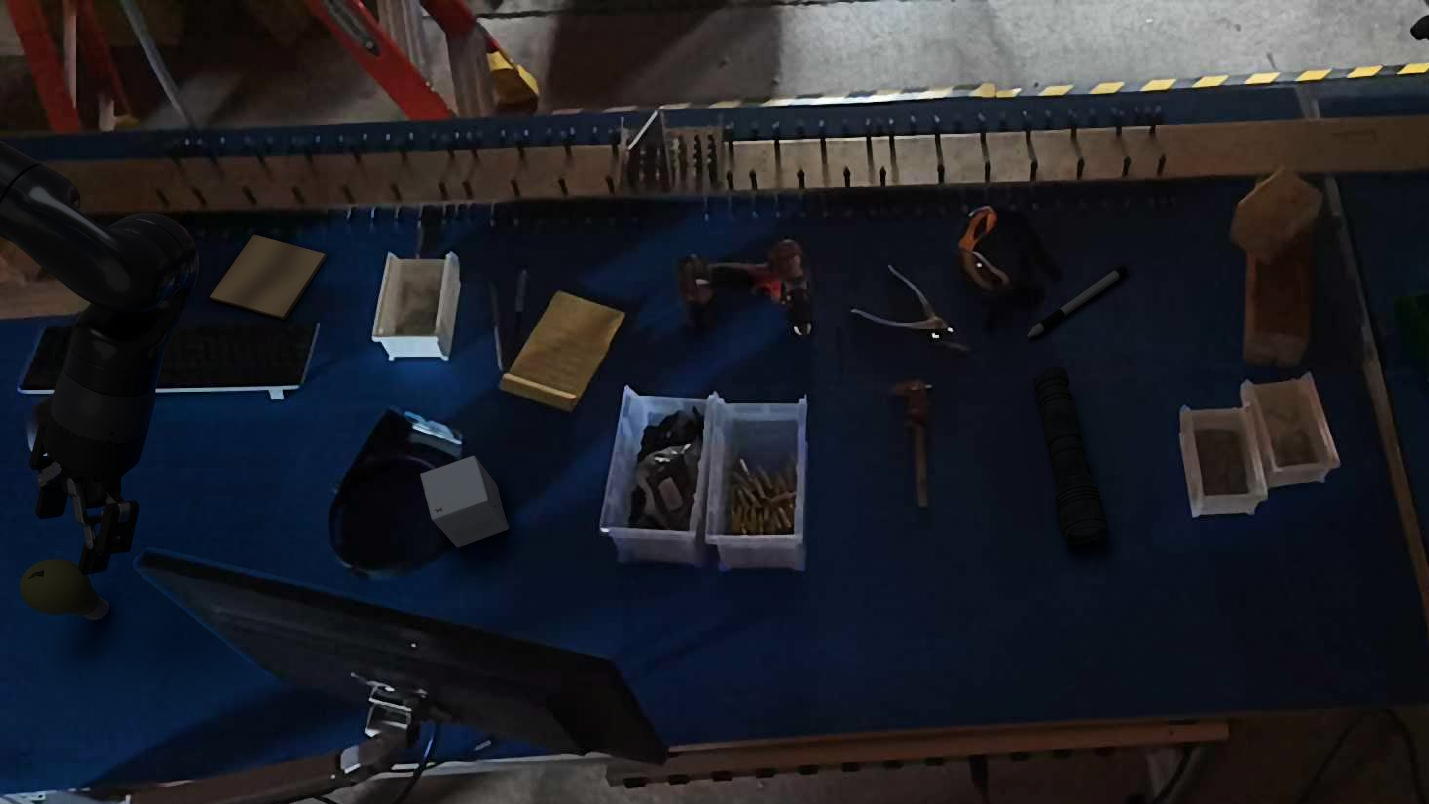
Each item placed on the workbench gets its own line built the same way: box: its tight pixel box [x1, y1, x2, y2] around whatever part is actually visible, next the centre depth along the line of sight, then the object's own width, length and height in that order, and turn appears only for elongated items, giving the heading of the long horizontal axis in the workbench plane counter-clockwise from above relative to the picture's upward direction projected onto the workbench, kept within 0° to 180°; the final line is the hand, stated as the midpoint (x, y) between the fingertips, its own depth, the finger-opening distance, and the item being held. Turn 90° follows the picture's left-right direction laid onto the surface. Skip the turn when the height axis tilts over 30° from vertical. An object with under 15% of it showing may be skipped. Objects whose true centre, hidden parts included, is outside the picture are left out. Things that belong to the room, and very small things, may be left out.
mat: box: [209, 234, 328, 321], centre depth 139 cm, size 10×10×1 cm
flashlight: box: [1032, 365, 1108, 546], centre depth 127 cm, size 5×21×5 cm, turn 9°
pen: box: [1025, 265, 1128, 338], centre depth 138 cm, size 1×16×1 cm, turn 129°
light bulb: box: [19, 558, 110, 621], centre depth 116 cm, size 6×6×10 cm
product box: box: [419, 455, 510, 548], centre depth 122 cm, size 6×6×7 cm
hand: (70, 543), depth 112 cm, fingers open, 8 cm apart
